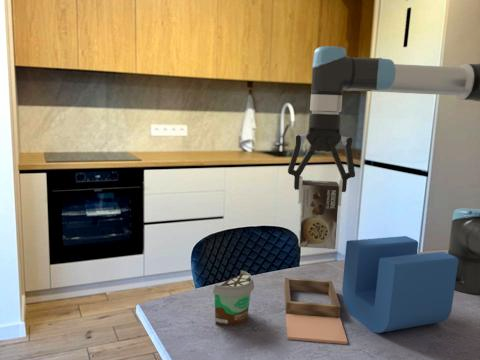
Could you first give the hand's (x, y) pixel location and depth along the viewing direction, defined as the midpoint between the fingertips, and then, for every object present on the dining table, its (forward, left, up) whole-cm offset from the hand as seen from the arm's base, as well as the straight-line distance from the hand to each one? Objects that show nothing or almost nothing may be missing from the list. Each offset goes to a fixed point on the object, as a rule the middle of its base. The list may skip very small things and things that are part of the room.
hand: (318, 203), depth 115 cm
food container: (+18, +13, -27) cm, 35 cm away
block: (-19, +6, -27) cm, 34 cm away
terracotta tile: (0, +15, -26) cm, 30 cm away
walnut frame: (0, 0, -26) cm, 26 cm away
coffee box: (0, 0, -11) cm, 11 cm away
